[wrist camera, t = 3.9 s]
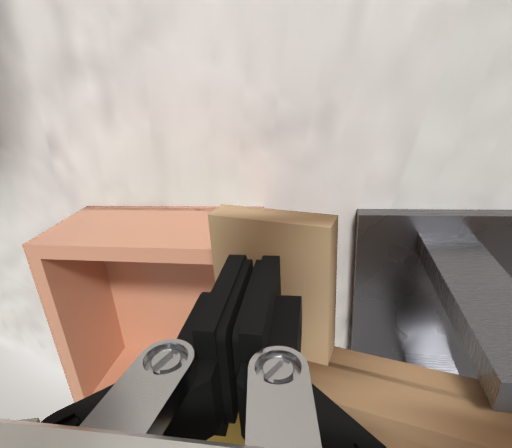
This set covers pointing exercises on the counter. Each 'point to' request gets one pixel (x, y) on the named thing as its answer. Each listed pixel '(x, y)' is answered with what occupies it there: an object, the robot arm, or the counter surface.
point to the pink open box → (119, 284)
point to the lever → (352, 362)
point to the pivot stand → (437, 293)
